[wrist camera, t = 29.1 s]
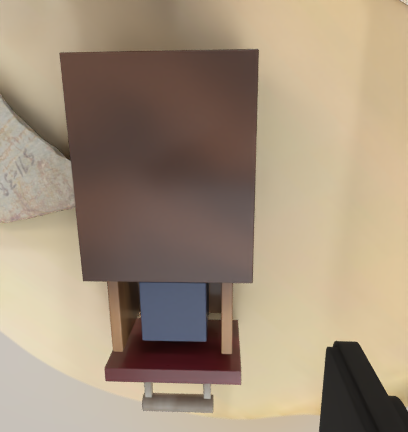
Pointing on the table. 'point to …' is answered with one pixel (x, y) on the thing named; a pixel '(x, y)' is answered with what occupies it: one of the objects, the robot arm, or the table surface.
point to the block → (174, 311)
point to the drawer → (173, 351)
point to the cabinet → (163, 163)
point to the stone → (30, 171)
